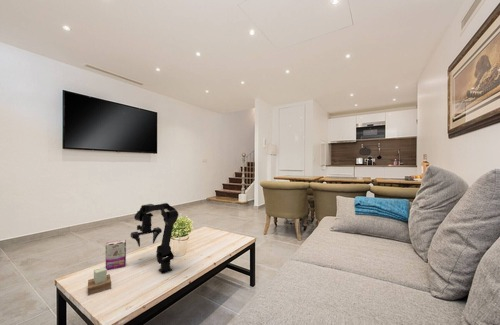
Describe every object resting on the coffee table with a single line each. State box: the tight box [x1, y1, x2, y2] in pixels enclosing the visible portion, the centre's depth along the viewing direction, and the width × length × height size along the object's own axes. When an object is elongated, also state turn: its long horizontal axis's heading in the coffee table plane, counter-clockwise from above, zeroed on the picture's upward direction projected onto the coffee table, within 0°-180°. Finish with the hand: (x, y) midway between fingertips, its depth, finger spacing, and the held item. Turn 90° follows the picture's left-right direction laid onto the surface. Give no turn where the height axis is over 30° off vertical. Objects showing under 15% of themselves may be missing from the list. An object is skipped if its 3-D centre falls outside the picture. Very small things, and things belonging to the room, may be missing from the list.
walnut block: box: [87, 273, 112, 296], centre depth 114 cm, size 10×10×4 cm
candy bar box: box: [105, 239, 127, 271], centre depth 137 cm, size 11×5×16 cm, turn 117°
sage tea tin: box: [93, 266, 108, 284], centre depth 114 cm, size 5×5×6 cm
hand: (146, 245), depth 143 cm, fingers open, 9 cm apart
